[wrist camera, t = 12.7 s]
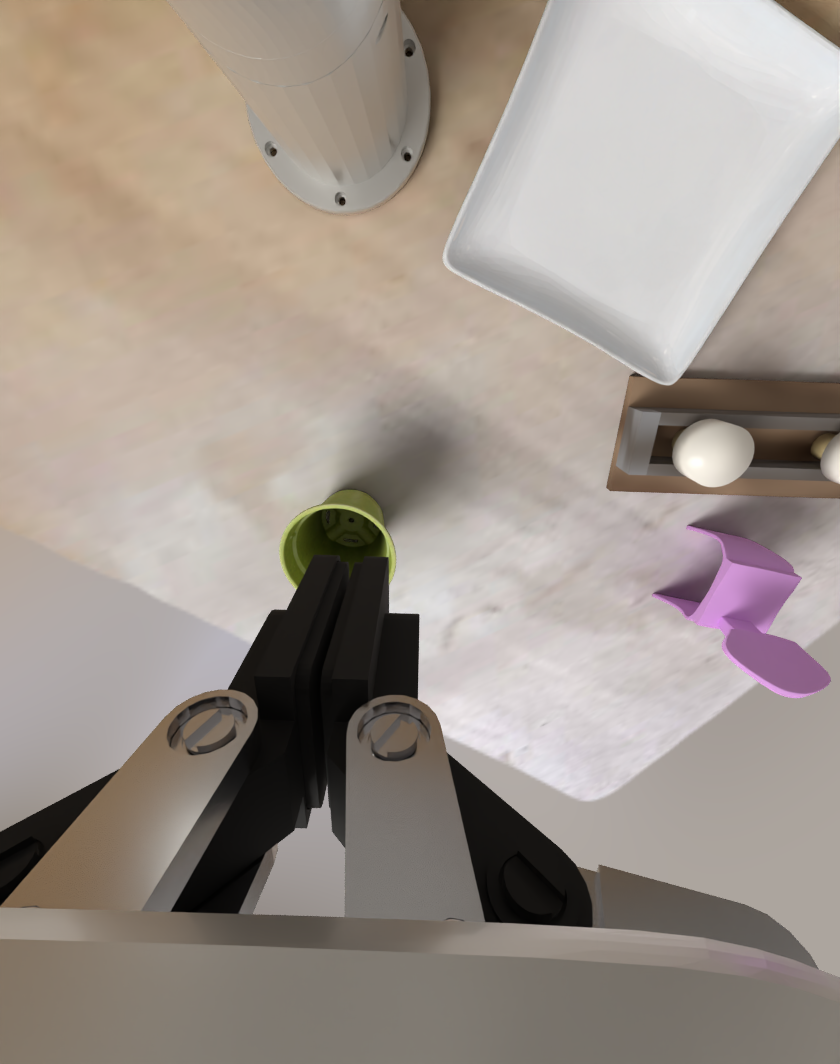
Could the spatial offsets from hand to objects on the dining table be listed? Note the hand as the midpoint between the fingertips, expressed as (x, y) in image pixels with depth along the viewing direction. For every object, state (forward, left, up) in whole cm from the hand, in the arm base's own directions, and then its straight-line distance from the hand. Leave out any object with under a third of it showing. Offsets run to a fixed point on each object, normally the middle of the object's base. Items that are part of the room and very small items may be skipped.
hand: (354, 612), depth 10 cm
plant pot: (+11, -5, -32) cm, 34 cm away
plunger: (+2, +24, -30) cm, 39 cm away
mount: (+2, +30, -32) cm, 44 cm away
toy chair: (+15, +30, -32) cm, 47 cm away
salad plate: (-16, +16, -33) cm, 40 cm away
